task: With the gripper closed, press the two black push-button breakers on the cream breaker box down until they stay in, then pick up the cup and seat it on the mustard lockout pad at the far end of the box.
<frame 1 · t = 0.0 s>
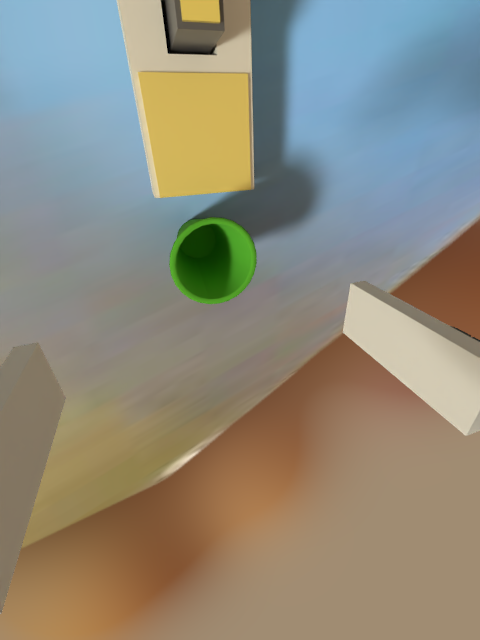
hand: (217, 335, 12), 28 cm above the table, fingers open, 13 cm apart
breaker box: (182, 47, 28), on the table
breaker b: (192, 12, 23), point 6 cm above the table, slide at 0.0 cm
cup: (196, 238, 38), on the table
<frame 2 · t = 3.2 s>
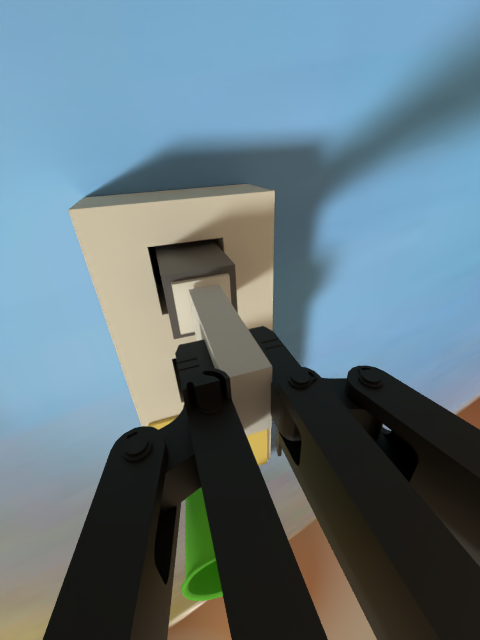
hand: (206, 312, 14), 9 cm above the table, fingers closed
breaker box: (195, 344, 26), on the table
cup: (206, 466, 36), on the table
breaker a: (193, 282, 17), point 6 cm above the table, slide at 0.6 cm, touching gripper
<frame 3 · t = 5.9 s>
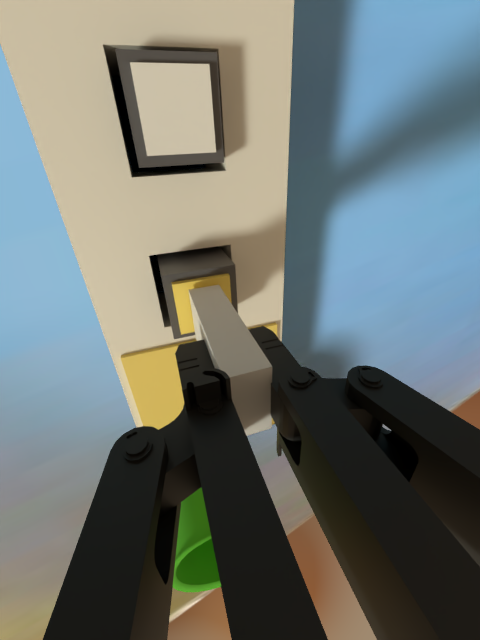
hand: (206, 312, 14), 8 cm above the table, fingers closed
breaker box: (185, 267, 21), on the table
breaker b: (194, 282, 17), point 4 cm above the table, slide at 2.2 cm
cup: (201, 436, 30), on the table
breaker a: (169, 120, 13), point 3 cm above the table, slide at 3.1 cm
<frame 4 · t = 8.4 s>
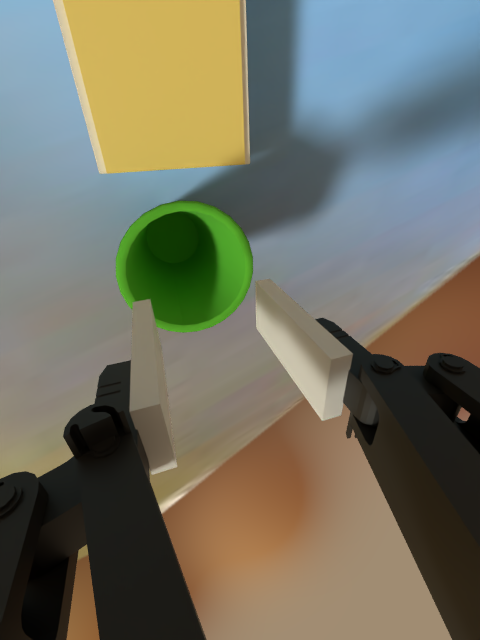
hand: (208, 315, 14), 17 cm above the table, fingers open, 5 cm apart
cup: (172, 236, 28), on the table
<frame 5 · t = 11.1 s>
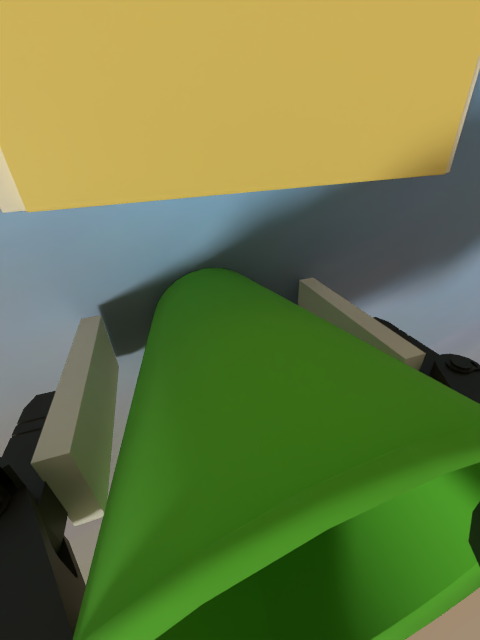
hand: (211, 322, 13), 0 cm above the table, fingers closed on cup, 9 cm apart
cup: (208, 315, 14), on the table, touching gripper
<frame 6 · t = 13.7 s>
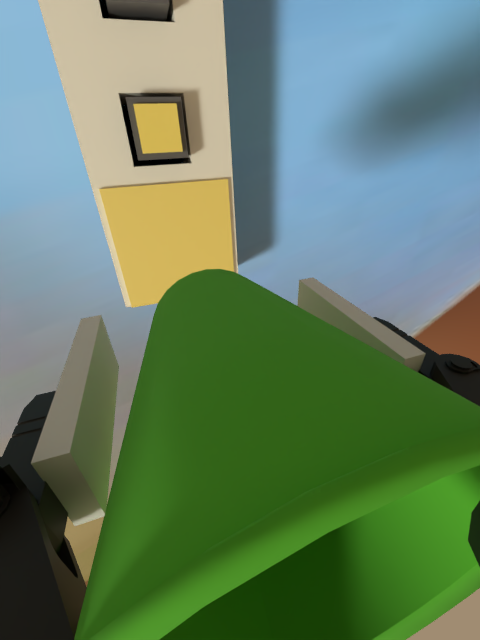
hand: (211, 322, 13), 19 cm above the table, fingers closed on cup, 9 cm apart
breaker box: (155, 142, 25), on the table
breaker b: (156, 132, 22), point 3 cm above the table, slide at 3.1 cm
cup: (208, 316, 14), point 18 cm above the table, touching gripper
when the fingers open (7 cm above the table, at t = 16.4 s): cup drops 1 cm, resting on breaker box.
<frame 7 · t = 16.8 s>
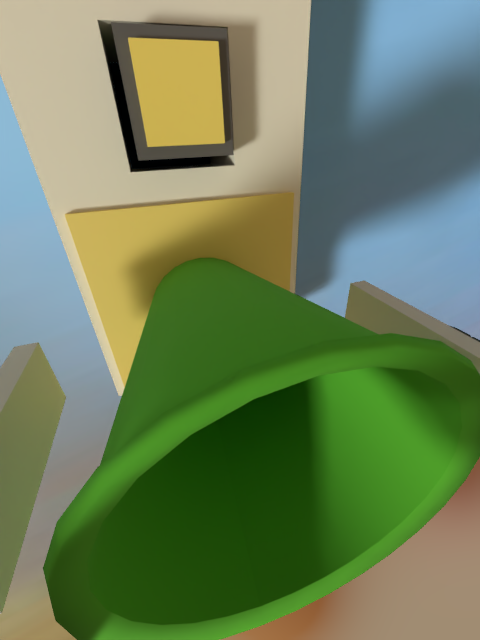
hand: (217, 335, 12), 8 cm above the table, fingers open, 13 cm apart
breaker box: (167, 130, 15), on the table
breaker b: (172, 109, 12), point 3 cm above the table, slide at 3.1 cm
cup: (203, 302, 15), point 5 cm above the table, touching breaker box
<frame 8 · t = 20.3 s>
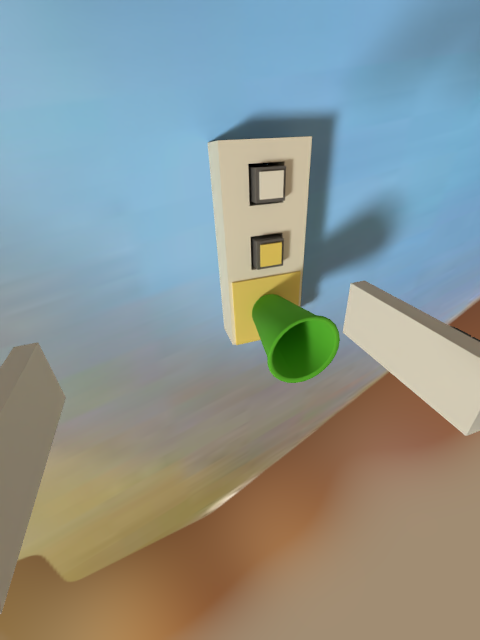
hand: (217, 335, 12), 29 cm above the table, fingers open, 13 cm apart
breaker box: (253, 245, 41), on the table
breaker b: (262, 248, 38), point 3 cm above the table, slide at 3.1 cm
cup: (267, 308, 41), point 5 cm above the table, touching breaker box
breaker a: (261, 183, 34), point 3 cm above the table, slide at 3.1 cm
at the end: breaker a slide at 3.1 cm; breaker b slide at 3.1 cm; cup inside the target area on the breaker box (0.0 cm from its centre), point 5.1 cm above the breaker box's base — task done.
